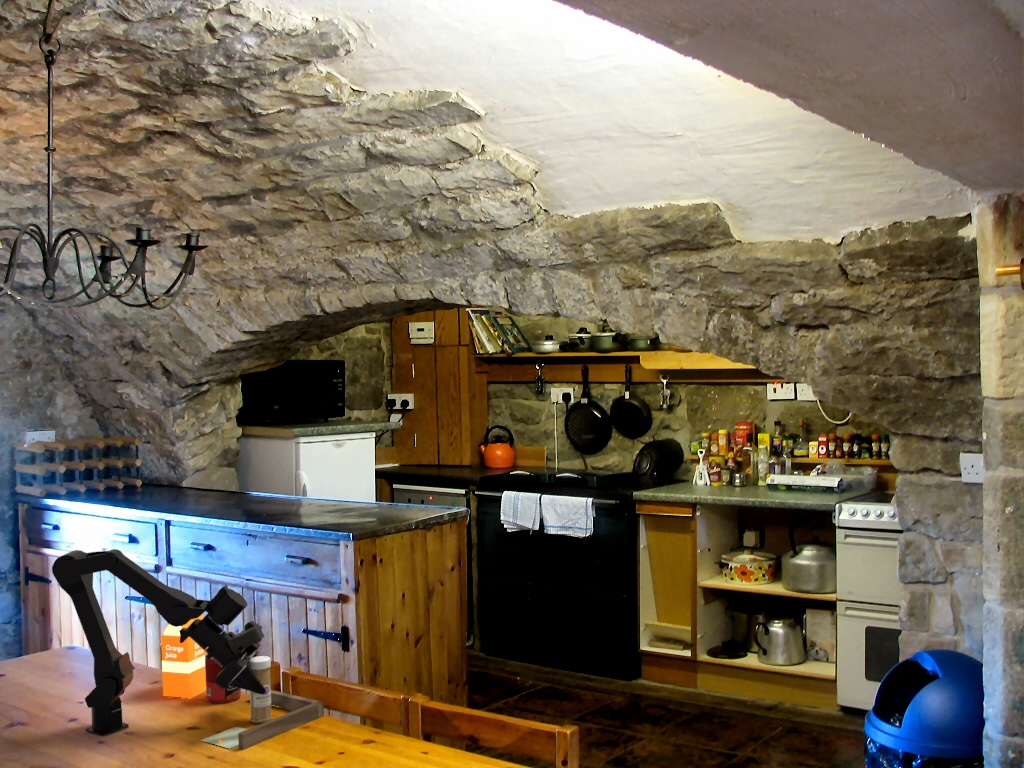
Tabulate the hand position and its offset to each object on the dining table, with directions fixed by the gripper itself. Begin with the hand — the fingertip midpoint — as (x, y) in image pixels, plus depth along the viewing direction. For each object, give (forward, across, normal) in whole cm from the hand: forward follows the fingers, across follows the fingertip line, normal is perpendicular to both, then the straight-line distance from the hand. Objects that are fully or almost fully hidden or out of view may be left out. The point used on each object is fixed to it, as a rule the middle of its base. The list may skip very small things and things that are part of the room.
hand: (266, 689), depth 207 cm
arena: (+2, -1, +8) cm, 8 cm away
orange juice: (-11, +23, +22) cm, 34 cm away
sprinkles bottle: (+4, 0, +6) cm, 7 cm away
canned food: (-4, +17, +15) cm, 23 cm away
